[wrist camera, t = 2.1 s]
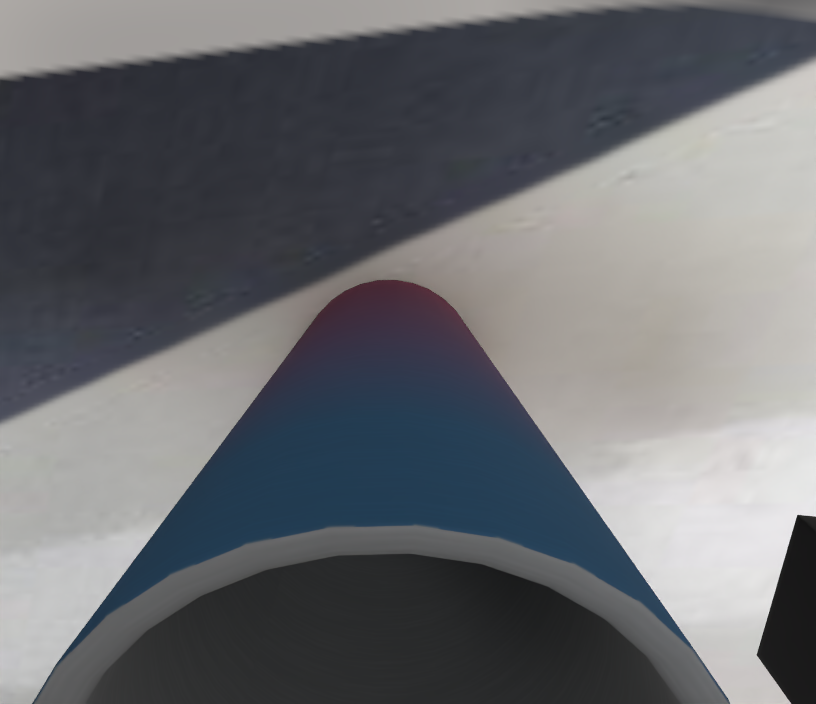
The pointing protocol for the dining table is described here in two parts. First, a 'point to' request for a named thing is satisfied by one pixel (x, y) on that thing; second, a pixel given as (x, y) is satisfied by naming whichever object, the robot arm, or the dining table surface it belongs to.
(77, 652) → the cup
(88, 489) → the dining table surface
